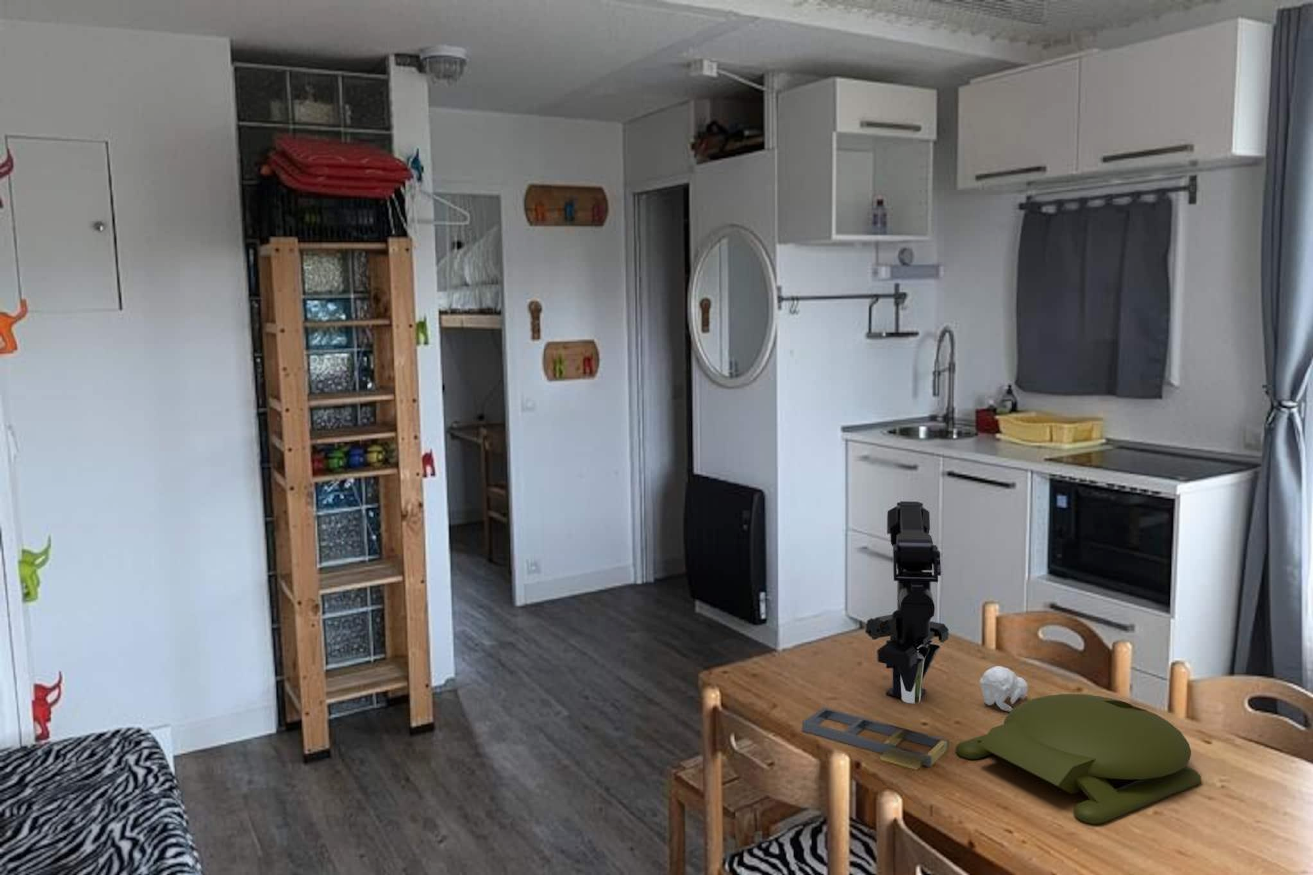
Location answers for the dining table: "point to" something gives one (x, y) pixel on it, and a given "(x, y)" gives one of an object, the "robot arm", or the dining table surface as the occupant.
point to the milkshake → (916, 692)
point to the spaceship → (1092, 751)
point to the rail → (887, 748)
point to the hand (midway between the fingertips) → (913, 687)
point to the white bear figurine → (1002, 687)
